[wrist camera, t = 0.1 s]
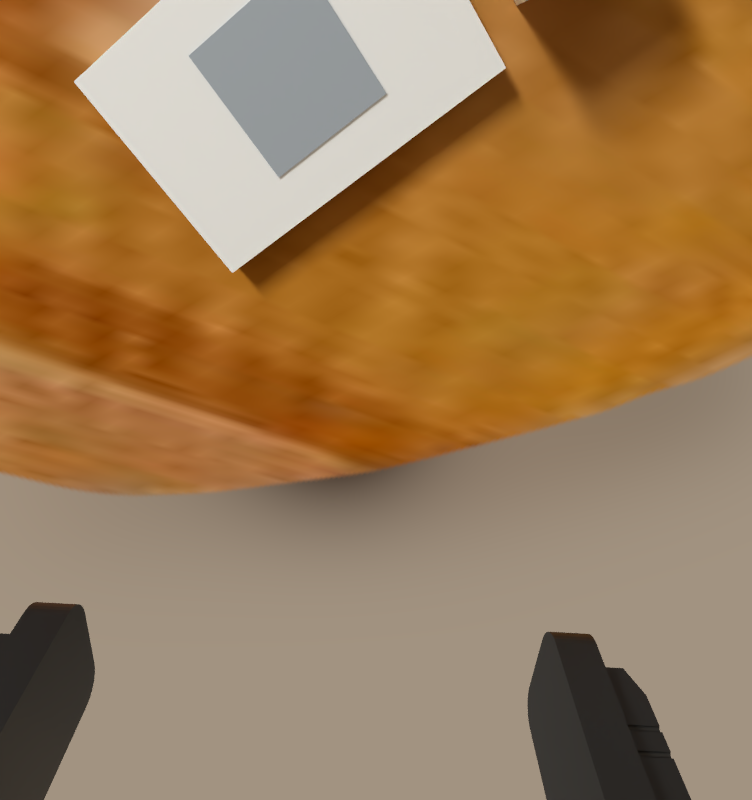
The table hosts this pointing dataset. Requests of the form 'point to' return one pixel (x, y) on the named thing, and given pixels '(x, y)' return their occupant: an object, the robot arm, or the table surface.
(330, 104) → the board
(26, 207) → the table surface
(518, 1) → the birch block
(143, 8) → the table surface
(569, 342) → the table surface
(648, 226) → the table surface
